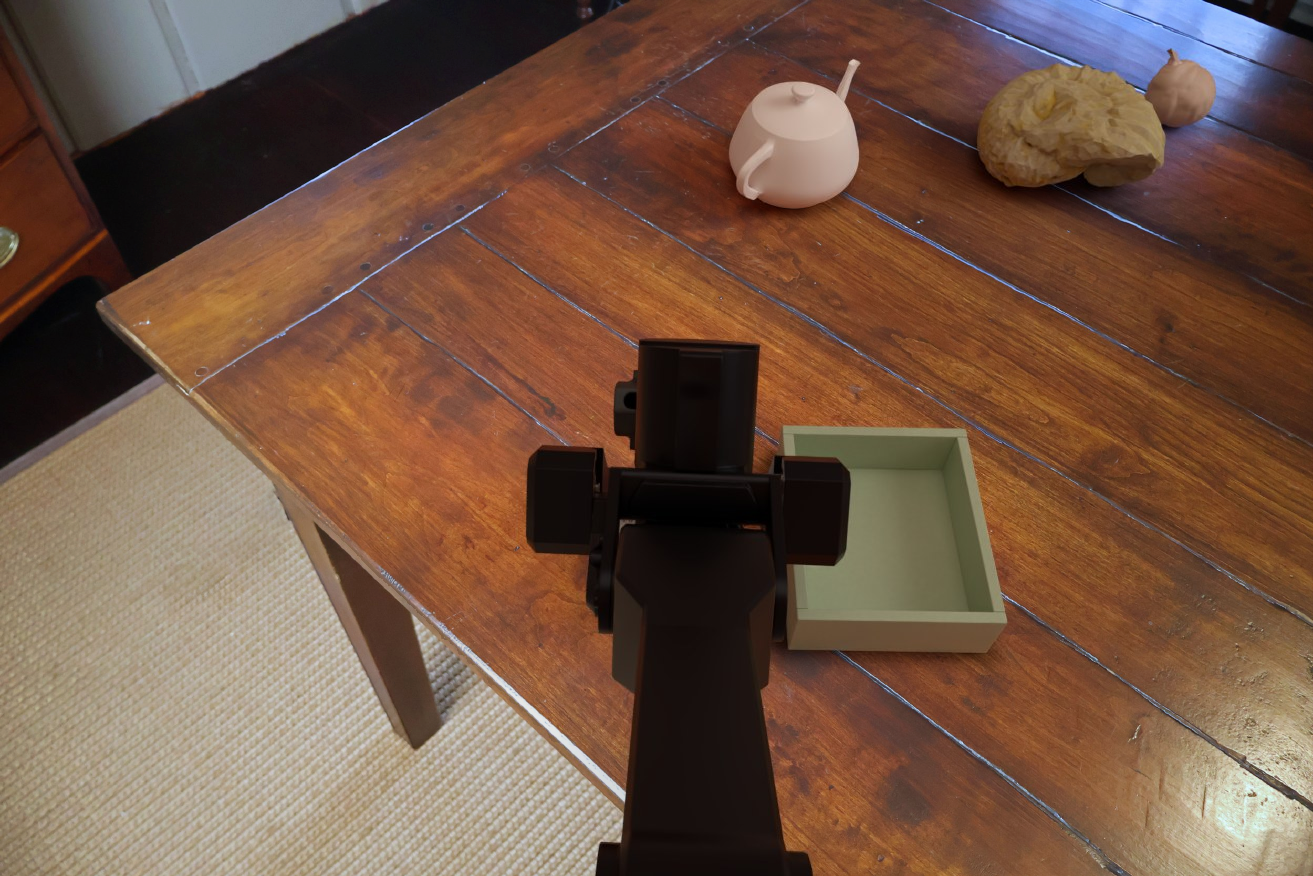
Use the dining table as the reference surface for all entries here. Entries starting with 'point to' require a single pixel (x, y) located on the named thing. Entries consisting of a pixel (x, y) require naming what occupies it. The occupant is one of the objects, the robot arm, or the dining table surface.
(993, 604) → the open box
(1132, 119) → the seashell
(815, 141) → the teapot
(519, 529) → the dining table surface
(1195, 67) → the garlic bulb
